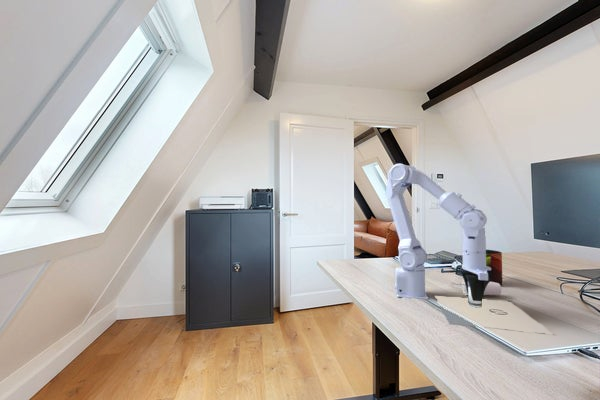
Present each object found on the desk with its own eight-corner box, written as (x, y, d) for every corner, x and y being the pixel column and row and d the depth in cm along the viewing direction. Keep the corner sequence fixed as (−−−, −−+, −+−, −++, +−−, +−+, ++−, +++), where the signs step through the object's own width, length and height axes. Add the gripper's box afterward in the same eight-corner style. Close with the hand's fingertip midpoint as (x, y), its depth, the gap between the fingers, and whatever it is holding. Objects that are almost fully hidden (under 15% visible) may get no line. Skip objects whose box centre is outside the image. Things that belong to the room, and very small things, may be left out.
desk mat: (449, 325, 67) (449, 324, 67) (432, 295, 88) (432, 294, 88) (556, 336, 61) (556, 335, 61) (510, 301, 82) (510, 300, 82)
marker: (470, 307, 76) (469, 279, 76) (466, 302, 79) (466, 275, 79) (484, 308, 75) (483, 280, 75) (479, 303, 78) (479, 276, 78)
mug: (492, 277, 107) (492, 248, 108) (507, 288, 94) (506, 254, 94) (465, 275, 111) (464, 246, 111) (475, 285, 97) (475, 253, 98)
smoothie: (506, 288, 82) (456, 284, 84) (500, 303, 85) (452, 299, 87) (496, 274, 87) (450, 270, 90) (490, 289, 90) (446, 284, 93)
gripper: (501, 257, 69) (502, 309, 69) (480, 247, 83) (481, 291, 83) (470, 255, 71) (471, 306, 71) (455, 246, 85) (455, 289, 85)
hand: (474, 298), depth 77 cm, fingers closed on marker, 3 cm apart
